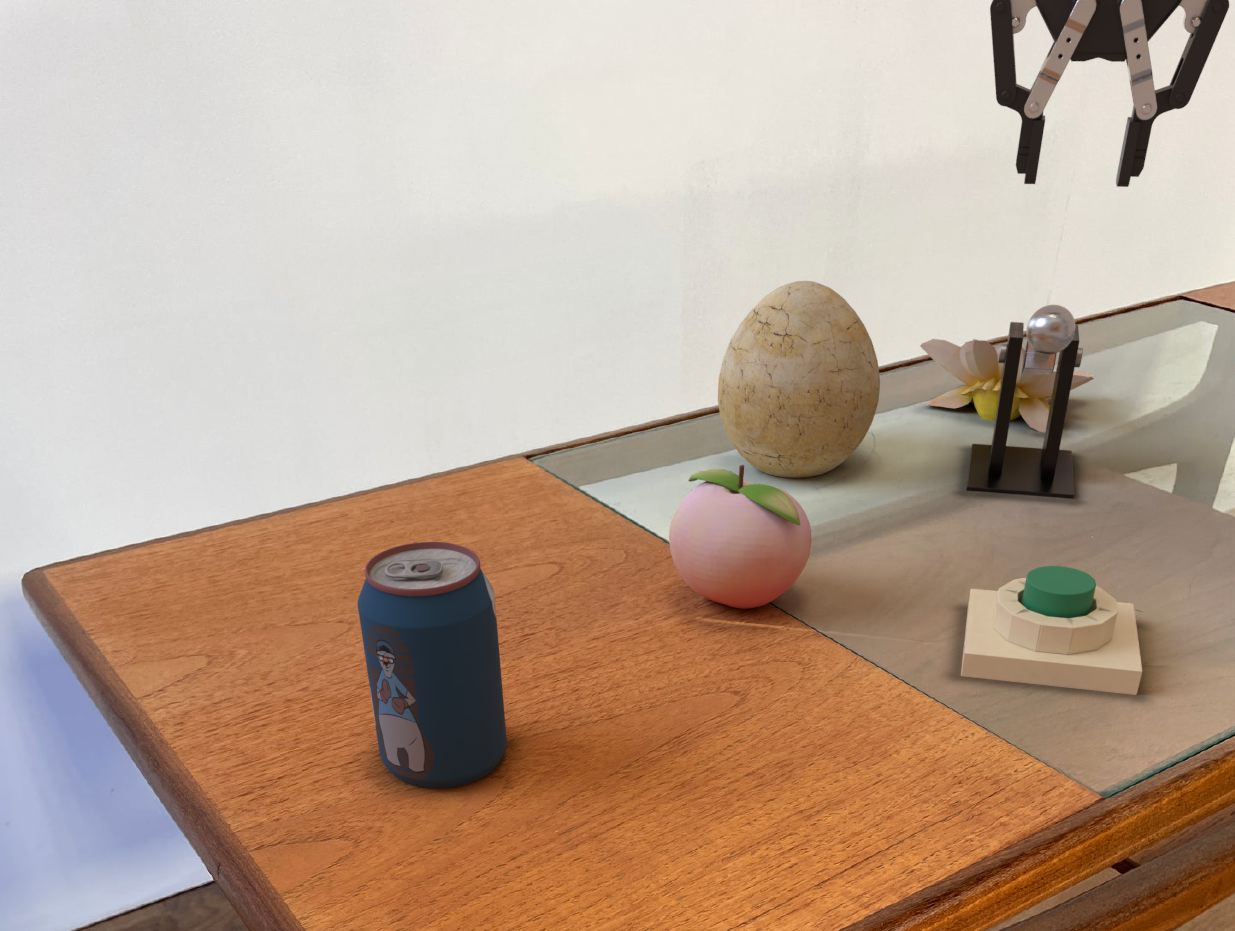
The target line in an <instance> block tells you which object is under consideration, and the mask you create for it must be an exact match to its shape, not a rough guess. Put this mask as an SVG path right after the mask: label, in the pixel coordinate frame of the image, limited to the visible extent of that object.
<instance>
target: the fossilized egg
mask: <svg viewBox="0 0 1235 931" xmlns="http://www.w3.org/2000/svg"><path fill="white" fill-rule="evenodd" d="M748 312H749V313H747V315H746V316H745V317H744V318H743V320H742V321H741V322H740V323H739V325H738V327H737V329H736V330H735V332H734V333H733V335H732V337H731V339H730V341H729V343H728V345H727V347H726V351H725V353H724V355H723V358H722V361H721V365H720V371H719V374H718V382H717V383H718V384H717V404H718V405H717V406H718V411H719V416H720V421H721V423H722V425H723V428H724V430H725V433H726V436H727V438H728V440H729V441H730V443H731V444H732V446H733V448H734V449H735V450H736V451H737V453H738V454H739V456H741V458H743V459H744V460H745V461H746V462H748V463H749V464H750V465H751V466H752V467H754V468H755V469H756V470H758V471H760V472H762V473H764V474H766V475H769V476H773V477H778V478H779V477H780V478H787V479H805V478H812V477H817V476H820V475H824V474H826V473H828V472H830V471H832V470H834V469H836V468H837V467H838V466H840V465H841V464H842V463H844V462H845V461H846V460H847V459H848V458H849V457H850V456H851V455H852V454H853V453H854V452H855V451H856V450H857V448H859V446H860V445H861V444H862V442H863V441H864V439H865V437H866V435H867V434H868V432H869V430H870V428H871V426H872V423H873V421H874V418H875V415H876V412H877V408H878V405H879V400H880V388H881V377H880V370H879V369H880V368H879V362H878V361H879V360H878V358H877V354H876V350H875V347H874V343H873V341H872V338H871V336H870V334H869V331H868V330H867V327H866V326H865V323H863V321H862V320H861V318H860V316H859V314H858V313H857V312H856V311H855V309H854V308H853V307H852V306H851V305H850V304H849V303H848V301H847V300H846V299H845V298H844V297H843V296H842V295H840V294H839V293H838V292H836V291H835V290H833V289H832V288H831V287H829V286H827V285H824V284H821V283H820V282H816V281H812V280H797V281H792V282H789V283H786V284H784V285H781V286H779V287H776V288H775V289H774V290H772V291H771V292H769V293H768V294H766V295H765V296H764V297H763V298H761V300H759V302H758V303H756V304H755V305H754V306H753V308H751V310H750V311H748Z"/></svg>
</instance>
